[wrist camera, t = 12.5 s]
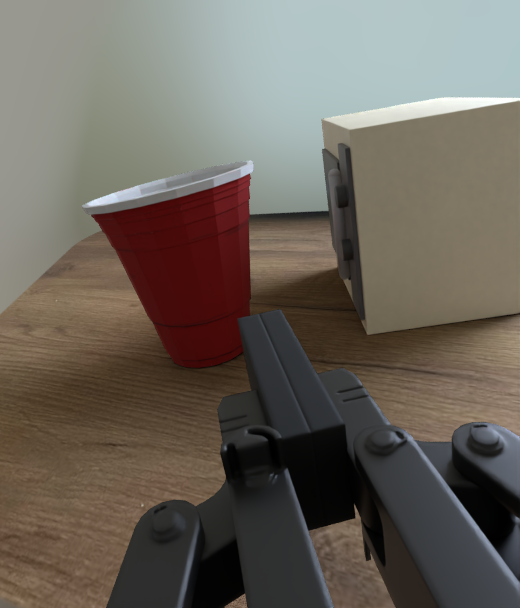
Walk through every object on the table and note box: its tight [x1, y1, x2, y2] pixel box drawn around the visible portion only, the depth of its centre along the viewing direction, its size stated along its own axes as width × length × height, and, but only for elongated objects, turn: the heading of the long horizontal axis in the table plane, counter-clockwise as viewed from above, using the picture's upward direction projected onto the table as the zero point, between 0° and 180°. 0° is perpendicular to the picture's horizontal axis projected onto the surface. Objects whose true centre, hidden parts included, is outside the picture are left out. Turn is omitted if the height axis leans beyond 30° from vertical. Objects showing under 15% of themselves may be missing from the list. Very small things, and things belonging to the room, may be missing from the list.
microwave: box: [322, 97, 520, 335], centre depth 36 cm, size 11×14×13 cm
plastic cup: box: [81, 161, 254, 368], centre depth 32 cm, size 11×11×12 cm
